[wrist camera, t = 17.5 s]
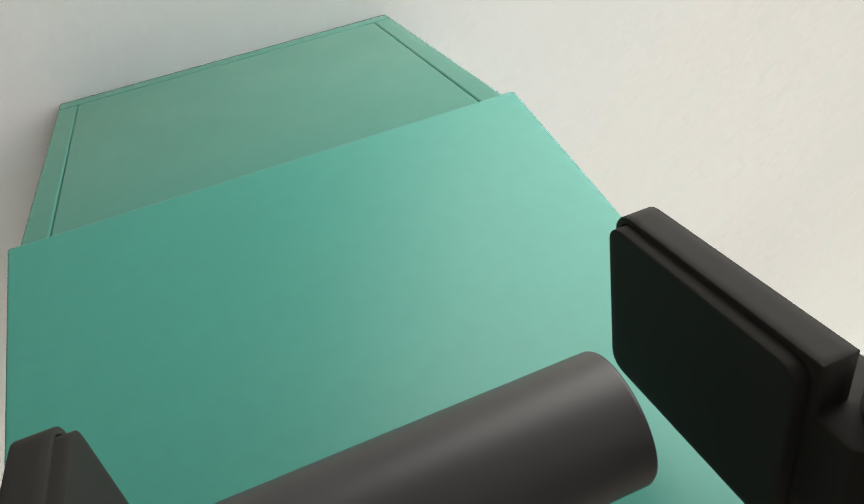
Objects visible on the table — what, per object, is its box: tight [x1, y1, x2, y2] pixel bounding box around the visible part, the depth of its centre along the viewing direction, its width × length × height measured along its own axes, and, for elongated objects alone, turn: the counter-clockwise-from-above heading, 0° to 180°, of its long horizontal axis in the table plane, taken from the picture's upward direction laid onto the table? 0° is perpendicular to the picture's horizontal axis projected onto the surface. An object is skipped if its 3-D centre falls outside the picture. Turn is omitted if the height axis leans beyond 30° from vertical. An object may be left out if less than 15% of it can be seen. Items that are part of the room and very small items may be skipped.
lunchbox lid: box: [5, 92, 744, 504], centre depth 13 cm, size 14×15×6 cm
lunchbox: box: [21, 15, 501, 246], centre depth 29 cm, size 14×15×13 cm
